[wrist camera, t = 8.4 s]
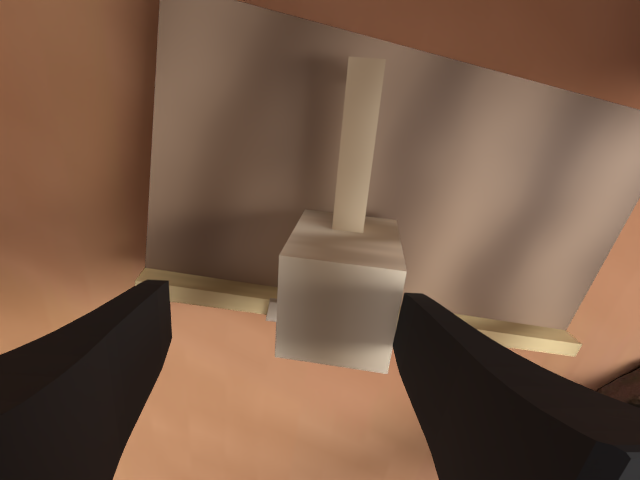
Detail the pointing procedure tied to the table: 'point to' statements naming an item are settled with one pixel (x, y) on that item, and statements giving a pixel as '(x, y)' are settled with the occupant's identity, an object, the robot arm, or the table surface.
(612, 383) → the statue
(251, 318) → the table surface
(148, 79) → the table surface
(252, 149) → the walnut board
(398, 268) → the wooden mallet
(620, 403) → the robot arm
